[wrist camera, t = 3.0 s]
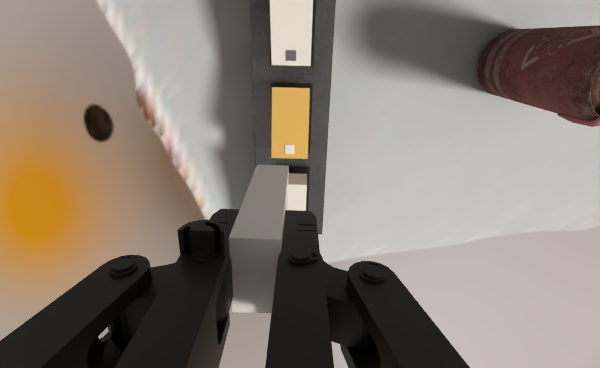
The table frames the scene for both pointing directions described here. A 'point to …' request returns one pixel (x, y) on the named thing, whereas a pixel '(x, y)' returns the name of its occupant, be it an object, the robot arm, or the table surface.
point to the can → (547, 70)
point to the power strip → (295, 77)
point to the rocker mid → (290, 122)
